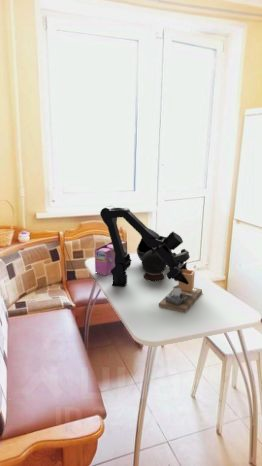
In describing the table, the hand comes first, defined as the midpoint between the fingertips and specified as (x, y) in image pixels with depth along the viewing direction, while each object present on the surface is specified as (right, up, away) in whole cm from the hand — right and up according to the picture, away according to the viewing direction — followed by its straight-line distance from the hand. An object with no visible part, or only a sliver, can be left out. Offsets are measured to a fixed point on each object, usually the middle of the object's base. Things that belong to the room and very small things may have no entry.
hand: (189, 281), depth 153 cm
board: (-4, -8, -3) cm, 9 cm away
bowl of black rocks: (-14, +3, +40) cm, 42 cm away
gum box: (-38, +2, +36) cm, 52 cm away
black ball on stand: (-15, -1, +22) cm, 27 cm away
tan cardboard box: (-1, -3, +1) cm, 4 cm away
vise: (-6, -7, -8) cm, 12 cm away
